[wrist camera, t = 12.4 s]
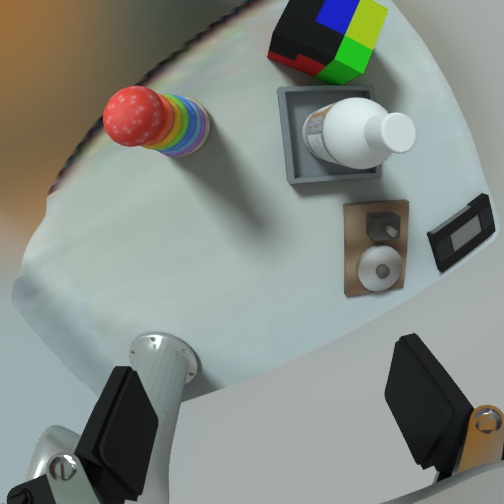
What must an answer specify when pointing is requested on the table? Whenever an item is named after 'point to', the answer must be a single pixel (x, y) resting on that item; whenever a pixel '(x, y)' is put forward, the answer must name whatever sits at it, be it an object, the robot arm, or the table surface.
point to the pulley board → (364, 240)
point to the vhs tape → (462, 232)
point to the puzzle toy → (327, 37)
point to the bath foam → (357, 133)
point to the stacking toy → (156, 121)
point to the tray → (292, 120)
